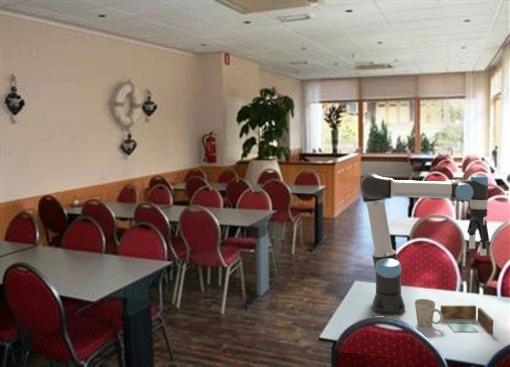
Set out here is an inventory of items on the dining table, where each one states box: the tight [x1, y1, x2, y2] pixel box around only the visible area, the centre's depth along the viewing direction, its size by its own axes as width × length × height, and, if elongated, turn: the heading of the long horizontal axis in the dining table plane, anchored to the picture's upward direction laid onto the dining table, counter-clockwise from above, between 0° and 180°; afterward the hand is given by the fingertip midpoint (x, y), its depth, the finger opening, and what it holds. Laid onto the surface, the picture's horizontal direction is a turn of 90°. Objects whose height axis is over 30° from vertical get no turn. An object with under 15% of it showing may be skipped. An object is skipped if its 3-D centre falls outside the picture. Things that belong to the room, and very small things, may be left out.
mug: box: [414, 298, 444, 328], centre depth 211 cm, size 8×13×10 cm, turn 45°
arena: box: [440, 304, 494, 335], centre depth 210 cm, size 16×17×6 cm
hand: (477, 251), depth 234 cm, fingers open, 13 cm apart
